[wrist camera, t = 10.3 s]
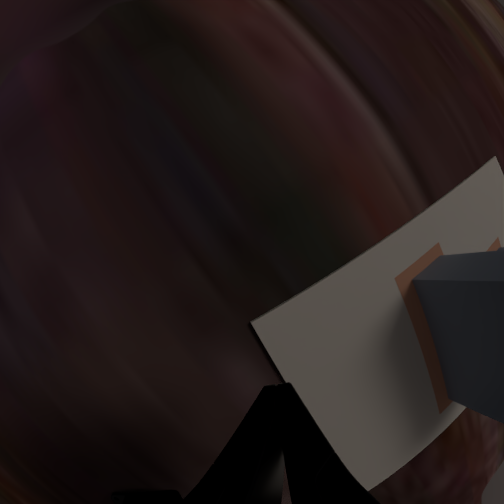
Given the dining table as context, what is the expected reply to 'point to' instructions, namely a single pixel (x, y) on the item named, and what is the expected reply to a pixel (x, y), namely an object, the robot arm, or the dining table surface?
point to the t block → (468, 326)
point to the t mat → (382, 334)
